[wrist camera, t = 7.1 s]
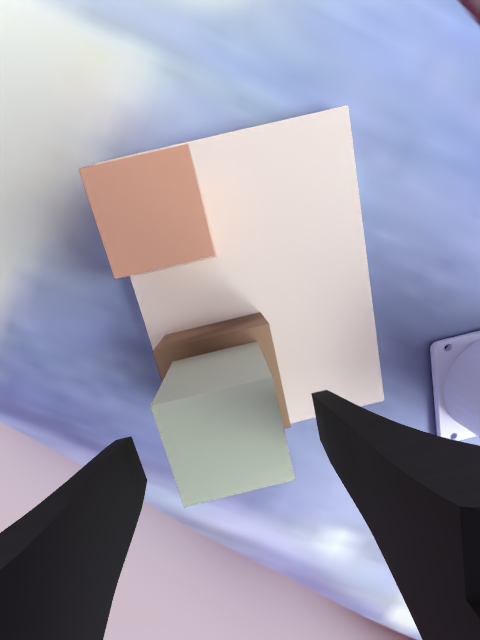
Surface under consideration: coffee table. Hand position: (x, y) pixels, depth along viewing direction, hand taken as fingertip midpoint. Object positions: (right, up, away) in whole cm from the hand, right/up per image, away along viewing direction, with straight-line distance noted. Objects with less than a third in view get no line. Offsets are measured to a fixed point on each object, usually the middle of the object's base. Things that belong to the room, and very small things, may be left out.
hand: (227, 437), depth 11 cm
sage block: (0, +1, +4) cm, 4 cm away
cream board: (+1, +6, +7) cm, 9 cm away
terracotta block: (-4, +10, +5) cm, 12 cm away
